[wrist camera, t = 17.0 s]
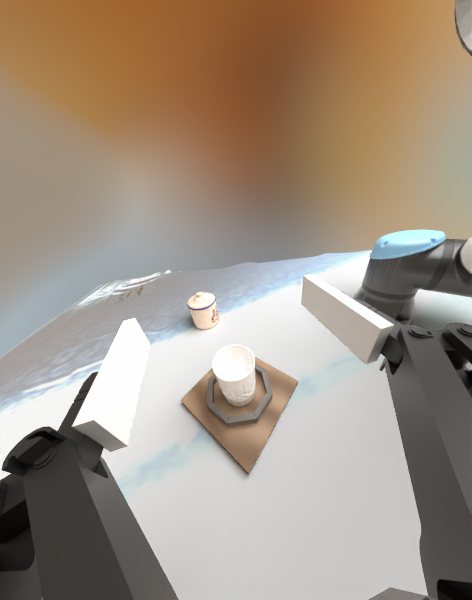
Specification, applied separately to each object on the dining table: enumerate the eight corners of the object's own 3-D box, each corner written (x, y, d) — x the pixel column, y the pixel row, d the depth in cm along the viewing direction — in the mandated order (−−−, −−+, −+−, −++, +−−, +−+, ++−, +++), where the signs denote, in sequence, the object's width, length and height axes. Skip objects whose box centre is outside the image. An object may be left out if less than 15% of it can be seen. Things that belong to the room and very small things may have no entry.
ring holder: (235, 348, 48) (233, 341, 47) (297, 384, 38) (298, 376, 36) (182, 403, 38) (178, 395, 36) (249, 474, 27) (247, 468, 25)
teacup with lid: (219, 328, 56) (212, 299, 50) (192, 332, 57) (181, 302, 50) (221, 307, 66) (215, 280, 60) (198, 310, 67) (189, 283, 60)
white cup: (238, 367, 42) (233, 338, 36) (265, 388, 37) (263, 357, 31) (214, 392, 37) (203, 363, 32) (240, 419, 32) (233, 390, 27)
